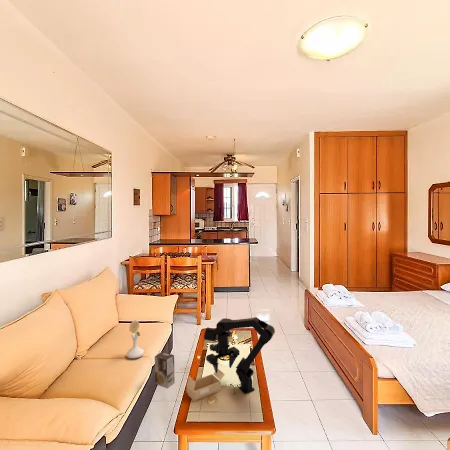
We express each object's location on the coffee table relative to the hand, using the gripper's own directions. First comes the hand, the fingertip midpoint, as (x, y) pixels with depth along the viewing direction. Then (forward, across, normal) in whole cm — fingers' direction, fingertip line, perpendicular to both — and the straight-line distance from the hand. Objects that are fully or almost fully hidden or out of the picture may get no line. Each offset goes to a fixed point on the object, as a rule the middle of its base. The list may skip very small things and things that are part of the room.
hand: (223, 370), depth 165 cm
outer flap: (+1, +20, 0) cm, 20 cm away
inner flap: (+1, +3, 0) cm, 3 cm away
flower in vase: (+8, +30, -59) cm, 67 cm away
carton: (+8, +12, 0) cm, 15 cm away
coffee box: (+8, +26, -19) cm, 34 cm away
